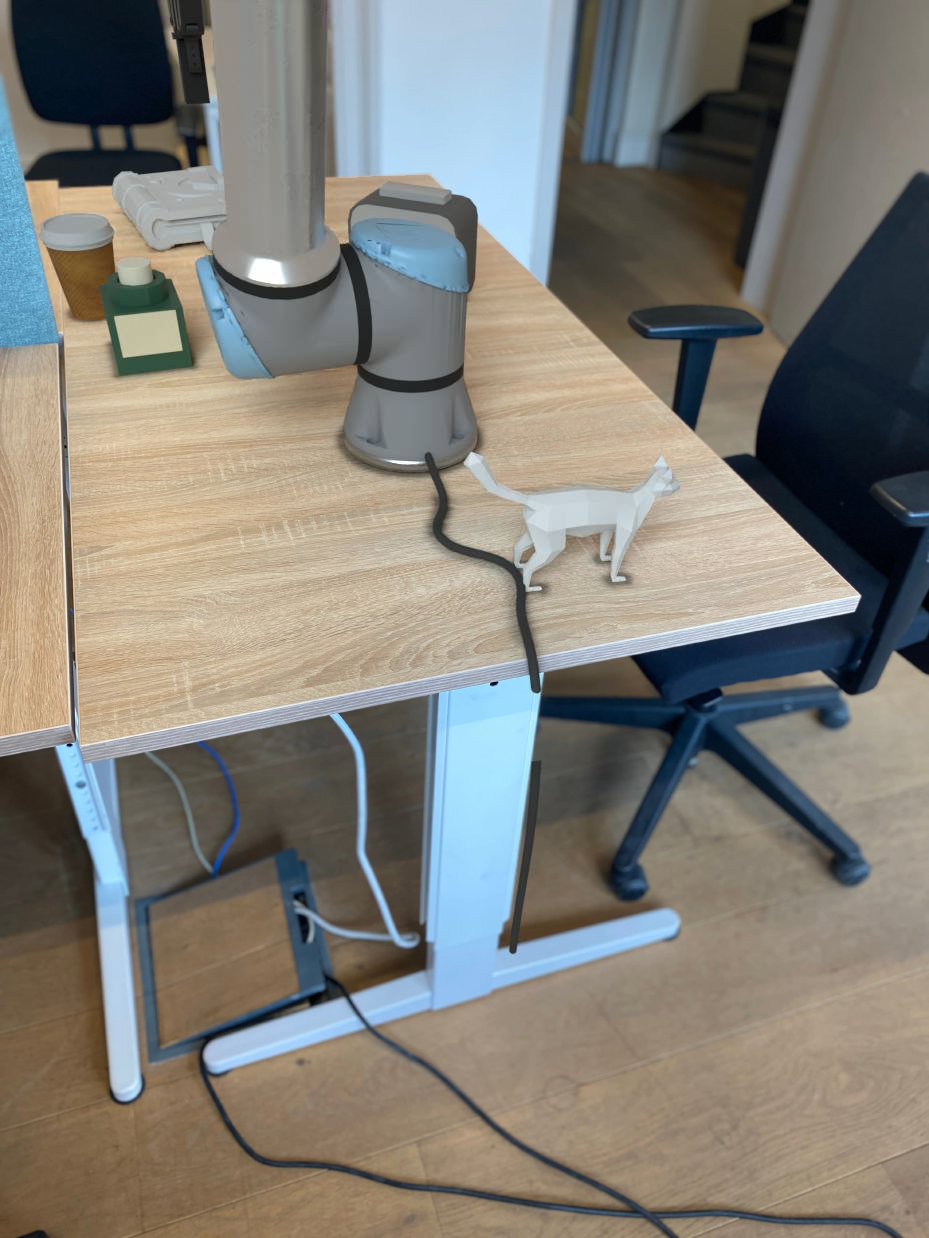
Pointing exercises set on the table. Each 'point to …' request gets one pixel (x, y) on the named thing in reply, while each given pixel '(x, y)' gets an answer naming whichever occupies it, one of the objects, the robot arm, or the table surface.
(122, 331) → the bottle label
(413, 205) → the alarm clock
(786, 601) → the table surface
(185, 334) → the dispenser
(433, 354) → the robot arm
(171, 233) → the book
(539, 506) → the cat figurine
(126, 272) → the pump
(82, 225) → the disposable coffee cup
